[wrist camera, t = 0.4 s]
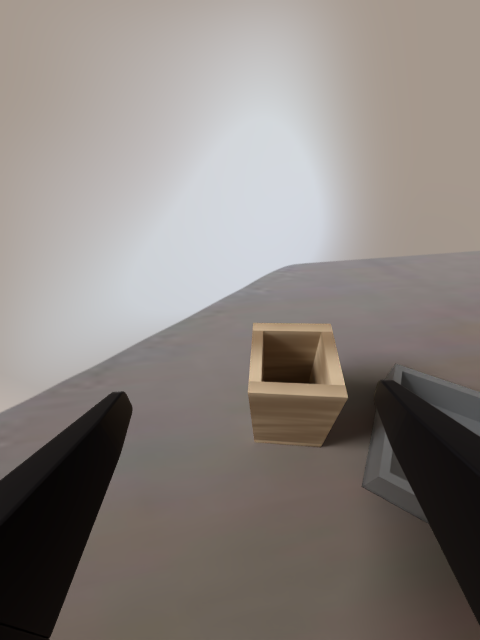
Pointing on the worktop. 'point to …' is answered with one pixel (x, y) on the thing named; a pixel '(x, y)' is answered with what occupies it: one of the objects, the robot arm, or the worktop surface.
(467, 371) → the worktop surface
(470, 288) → the worktop surface
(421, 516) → the grey square tray
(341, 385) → the tall pine crate
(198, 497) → the worktop surface
